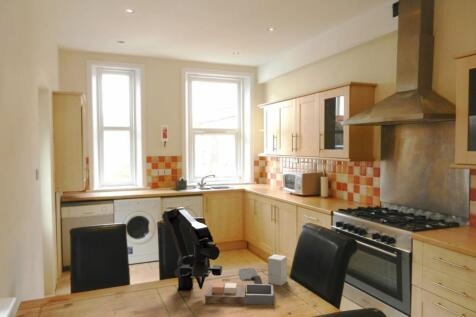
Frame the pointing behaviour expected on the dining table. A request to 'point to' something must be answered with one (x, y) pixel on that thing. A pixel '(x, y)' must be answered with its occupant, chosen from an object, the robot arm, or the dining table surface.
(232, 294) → the tan board
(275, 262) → the supplement box
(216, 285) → the terracotta tile
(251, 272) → the cleaver
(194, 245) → the robot arm
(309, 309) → the dining table surface
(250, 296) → the box
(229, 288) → the cream tile
